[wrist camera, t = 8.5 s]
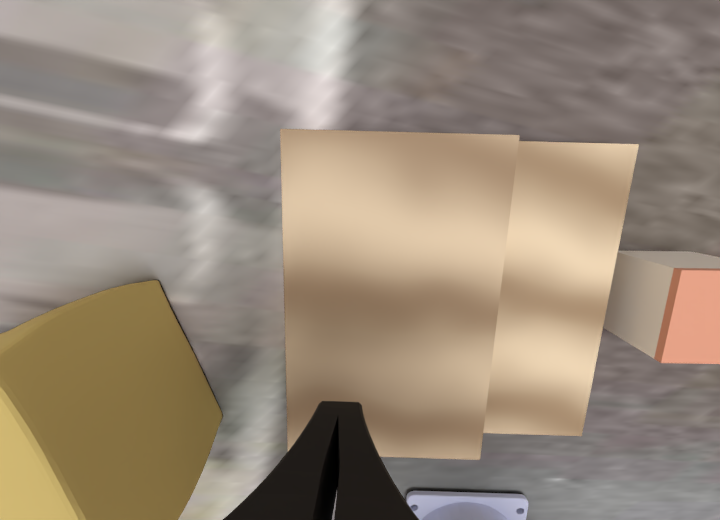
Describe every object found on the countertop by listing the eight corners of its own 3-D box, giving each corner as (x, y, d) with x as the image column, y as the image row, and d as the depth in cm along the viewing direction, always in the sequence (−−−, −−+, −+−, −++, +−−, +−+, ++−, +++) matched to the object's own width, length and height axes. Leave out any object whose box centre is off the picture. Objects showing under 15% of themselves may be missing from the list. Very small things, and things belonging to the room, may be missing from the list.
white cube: (660, 362, 16) (597, 324, 21) (758, 364, 16) (673, 325, 21) (681, 270, 15) (610, 250, 20) (784, 271, 15) (690, 251, 20)
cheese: (93, 461, 23) (-103, 664, 13) (8, 318, 21) (-302, 438, 11) (236, 419, 22) (137, 604, 13) (163, 265, 20) (-26, 345, 10)
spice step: (562, 413, 22) (605, 463, 18) (301, 405, 22) (287, 453, 18) (609, 148, 18) (676, 139, 14) (298, 140, 18) (280, 128, 14)
